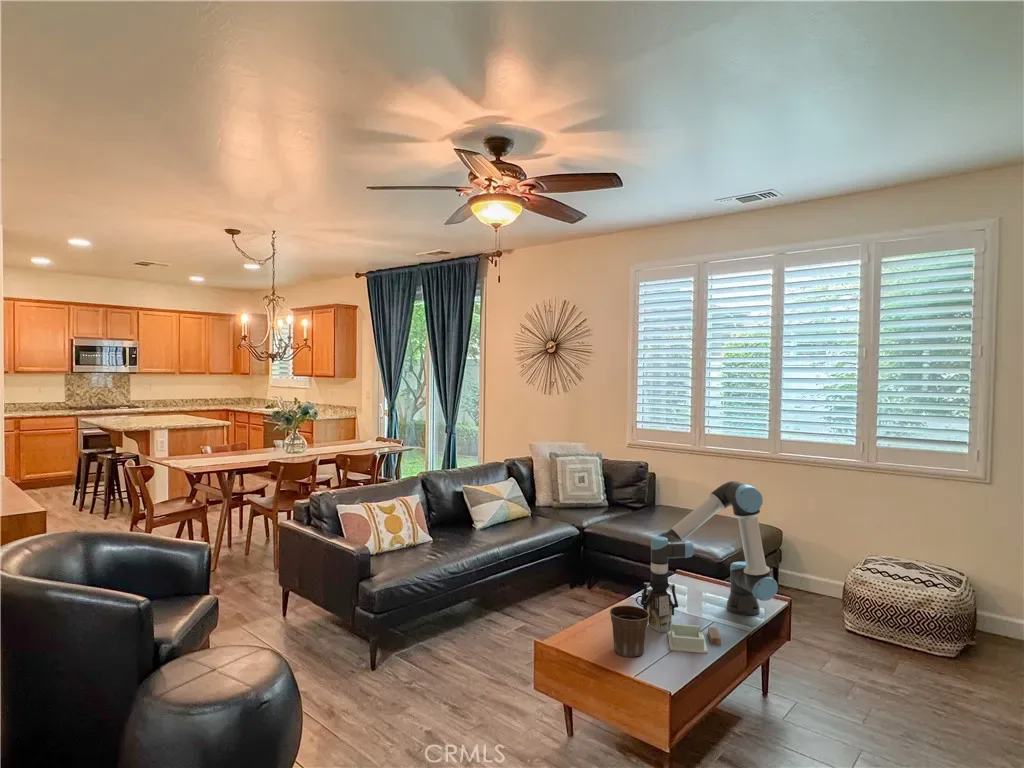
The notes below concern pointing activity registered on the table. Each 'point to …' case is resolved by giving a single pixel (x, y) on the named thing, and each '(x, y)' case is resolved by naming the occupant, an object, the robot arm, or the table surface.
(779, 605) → the table surface
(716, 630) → the brown wooden block
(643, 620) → the plant pot
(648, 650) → the table surface
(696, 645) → the mint green tray
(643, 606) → the coffee mug
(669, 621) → the coffee box
